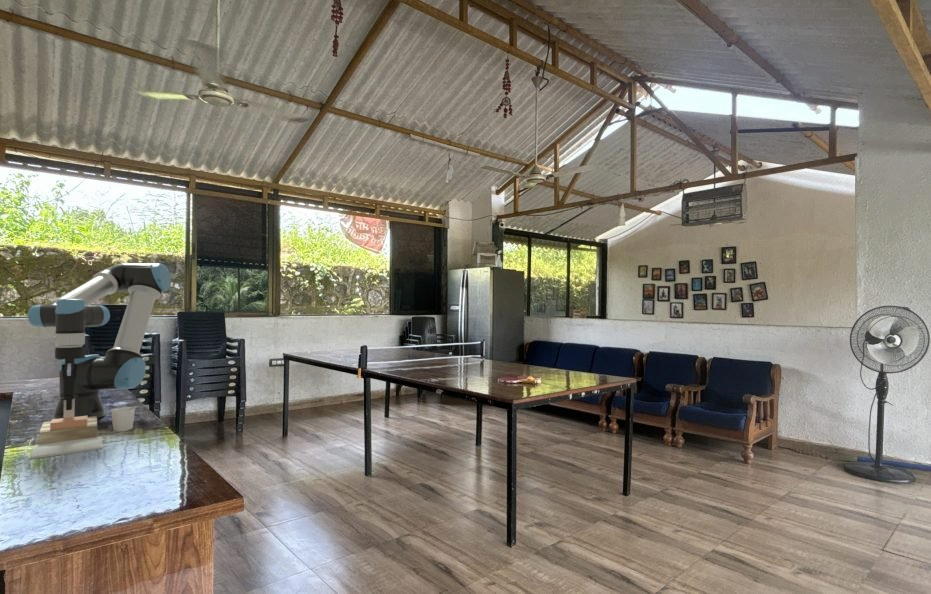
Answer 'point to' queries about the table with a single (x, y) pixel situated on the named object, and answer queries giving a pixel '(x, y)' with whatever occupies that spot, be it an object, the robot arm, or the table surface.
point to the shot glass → (122, 418)
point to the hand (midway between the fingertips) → (68, 419)
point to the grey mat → (66, 447)
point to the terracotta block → (68, 422)
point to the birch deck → (68, 432)
